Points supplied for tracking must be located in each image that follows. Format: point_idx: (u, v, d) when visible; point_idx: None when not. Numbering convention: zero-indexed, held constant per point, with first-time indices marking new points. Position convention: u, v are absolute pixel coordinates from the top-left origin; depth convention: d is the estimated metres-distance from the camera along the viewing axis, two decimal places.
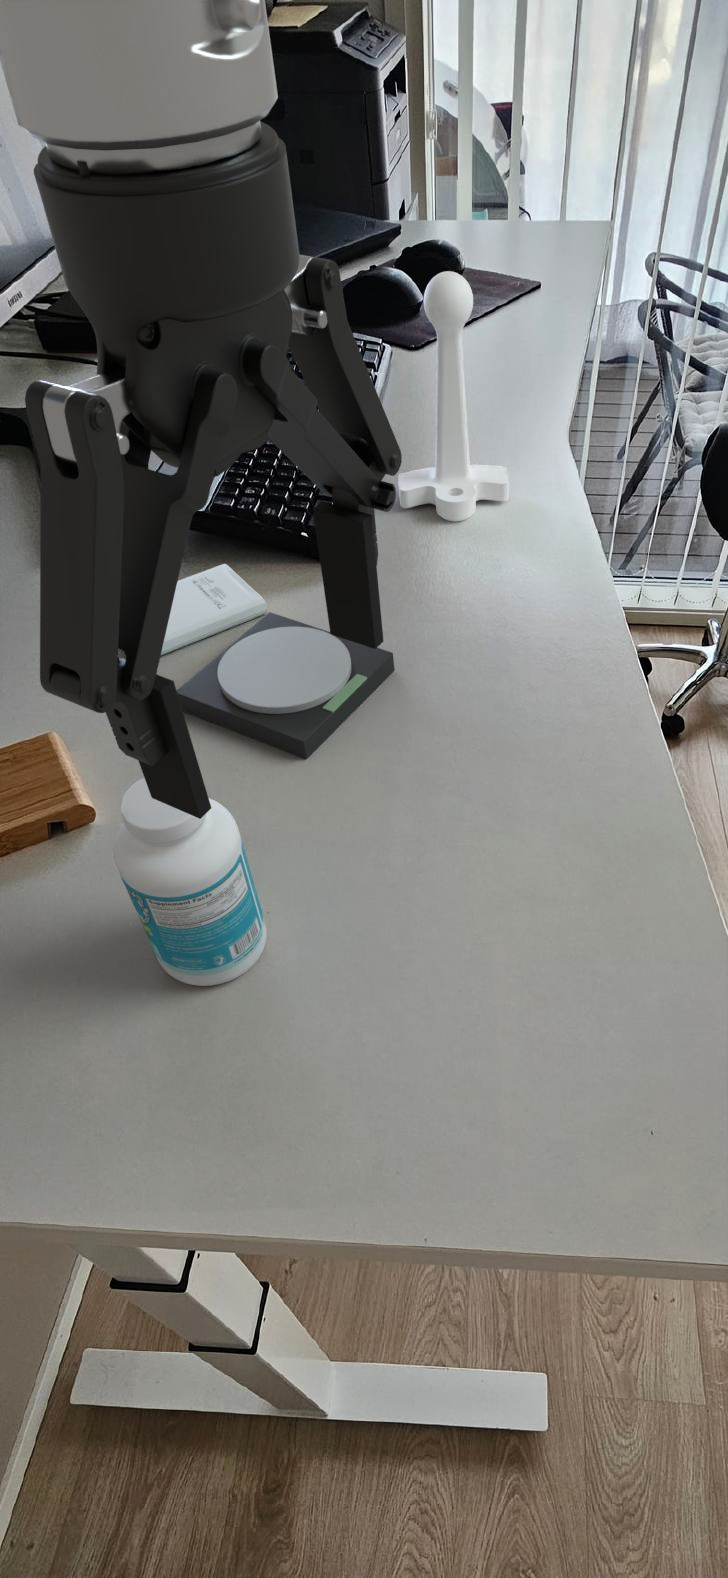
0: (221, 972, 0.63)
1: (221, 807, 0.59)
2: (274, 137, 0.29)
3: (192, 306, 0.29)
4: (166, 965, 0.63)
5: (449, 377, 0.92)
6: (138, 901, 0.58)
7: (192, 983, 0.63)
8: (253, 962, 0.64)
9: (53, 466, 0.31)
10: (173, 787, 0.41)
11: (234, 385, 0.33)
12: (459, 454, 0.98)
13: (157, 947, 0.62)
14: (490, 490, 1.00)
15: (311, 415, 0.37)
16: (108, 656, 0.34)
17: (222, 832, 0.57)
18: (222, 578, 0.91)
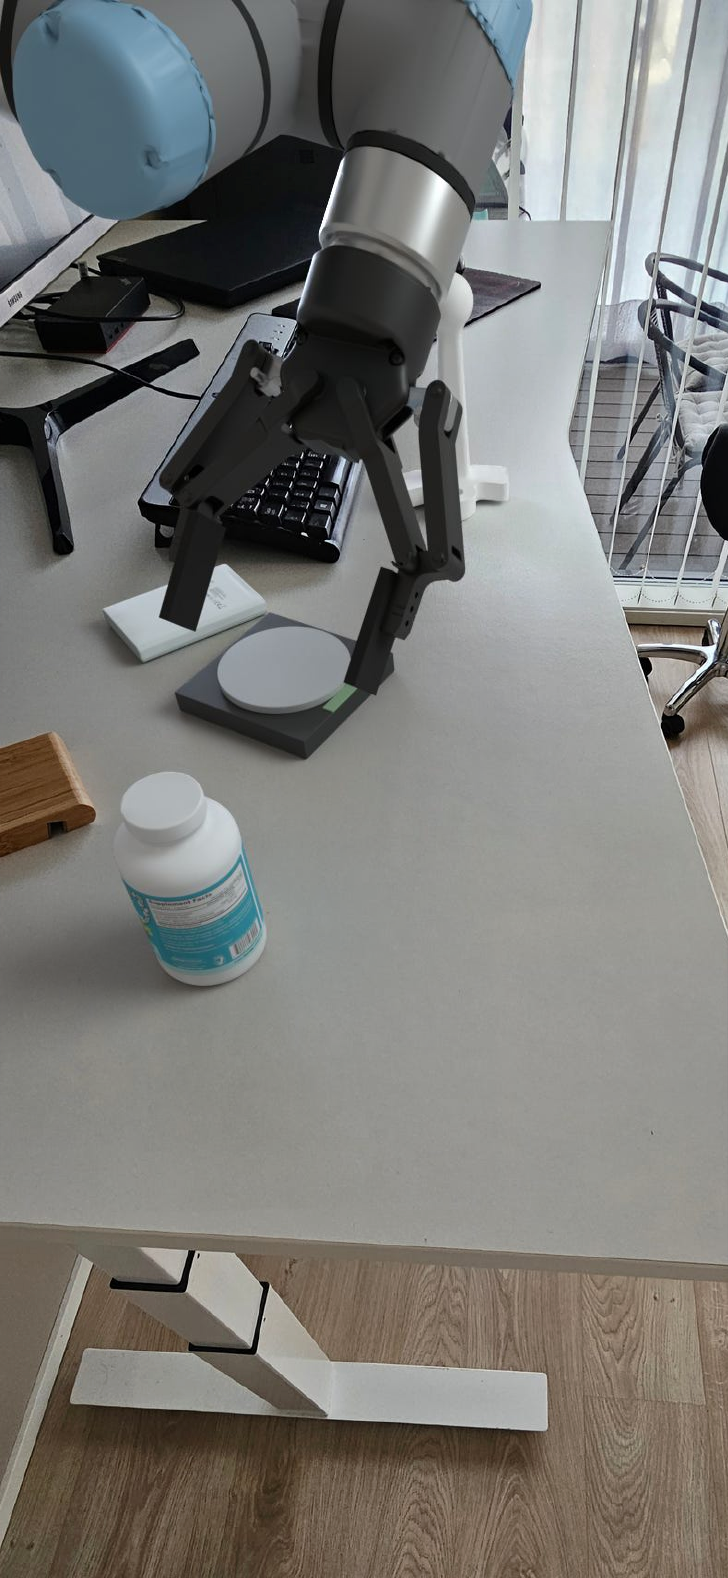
0: (221, 972, 0.63)
1: (221, 807, 0.59)
2: None
3: None
4: (166, 965, 0.63)
5: (449, 377, 0.92)
6: (138, 901, 0.58)
7: (192, 983, 0.63)
8: (253, 962, 0.64)
9: (442, 428, 0.53)
10: (375, 669, 0.56)
11: None
12: (459, 454, 0.98)
13: (157, 947, 0.62)
14: (490, 490, 1.00)
15: None
16: None
17: (222, 833, 0.57)
18: (222, 578, 0.91)
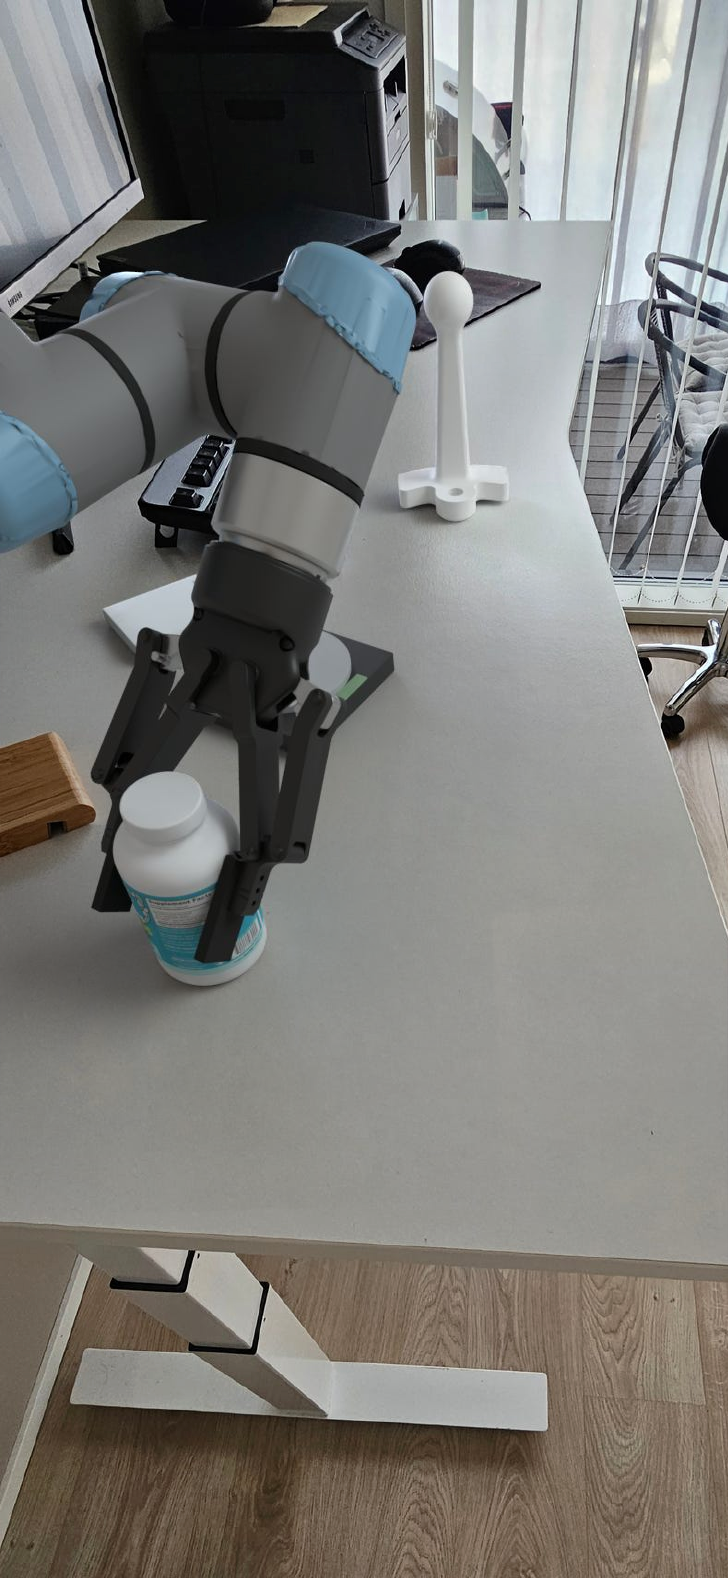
0: (221, 972, 0.63)
1: (221, 807, 0.59)
2: None
3: None
4: (166, 965, 0.63)
5: (449, 377, 0.92)
6: (138, 901, 0.58)
7: (192, 983, 0.63)
8: (253, 962, 0.64)
9: (316, 732, 0.55)
10: (226, 941, 0.59)
11: None
12: (459, 454, 0.98)
13: (157, 947, 0.62)
14: (490, 490, 1.00)
15: None
16: None
17: (221, 832, 0.57)
18: None
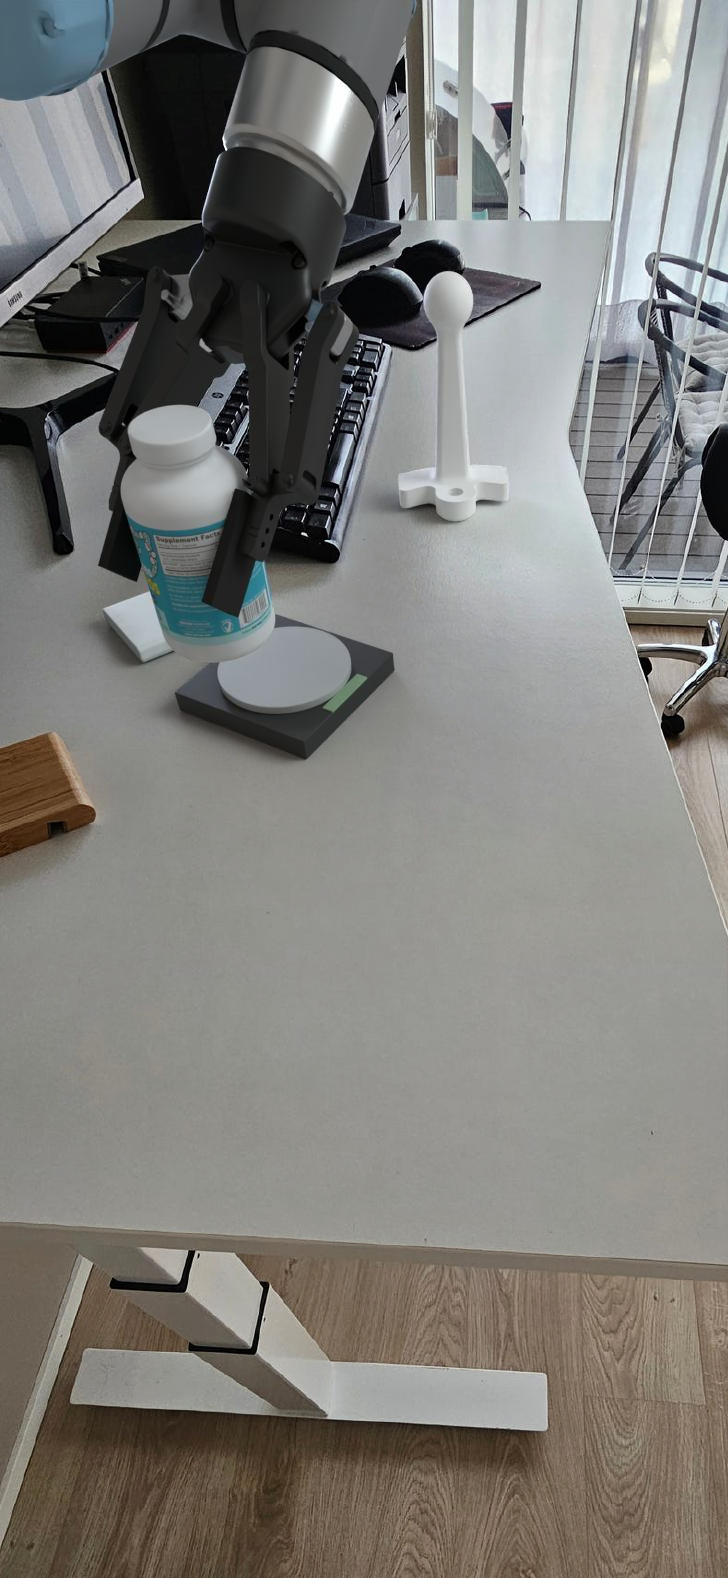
0: (229, 643, 0.62)
1: None
2: None
3: (328, 283, 0.57)
4: (173, 637, 0.62)
5: (449, 377, 0.92)
6: (146, 544, 0.57)
7: (199, 658, 0.63)
8: (261, 641, 0.63)
9: (327, 352, 0.54)
10: (234, 591, 0.58)
11: None
12: (459, 454, 0.98)
13: (164, 611, 0.61)
14: (490, 490, 1.00)
15: None
16: None
17: (230, 468, 0.56)
18: None
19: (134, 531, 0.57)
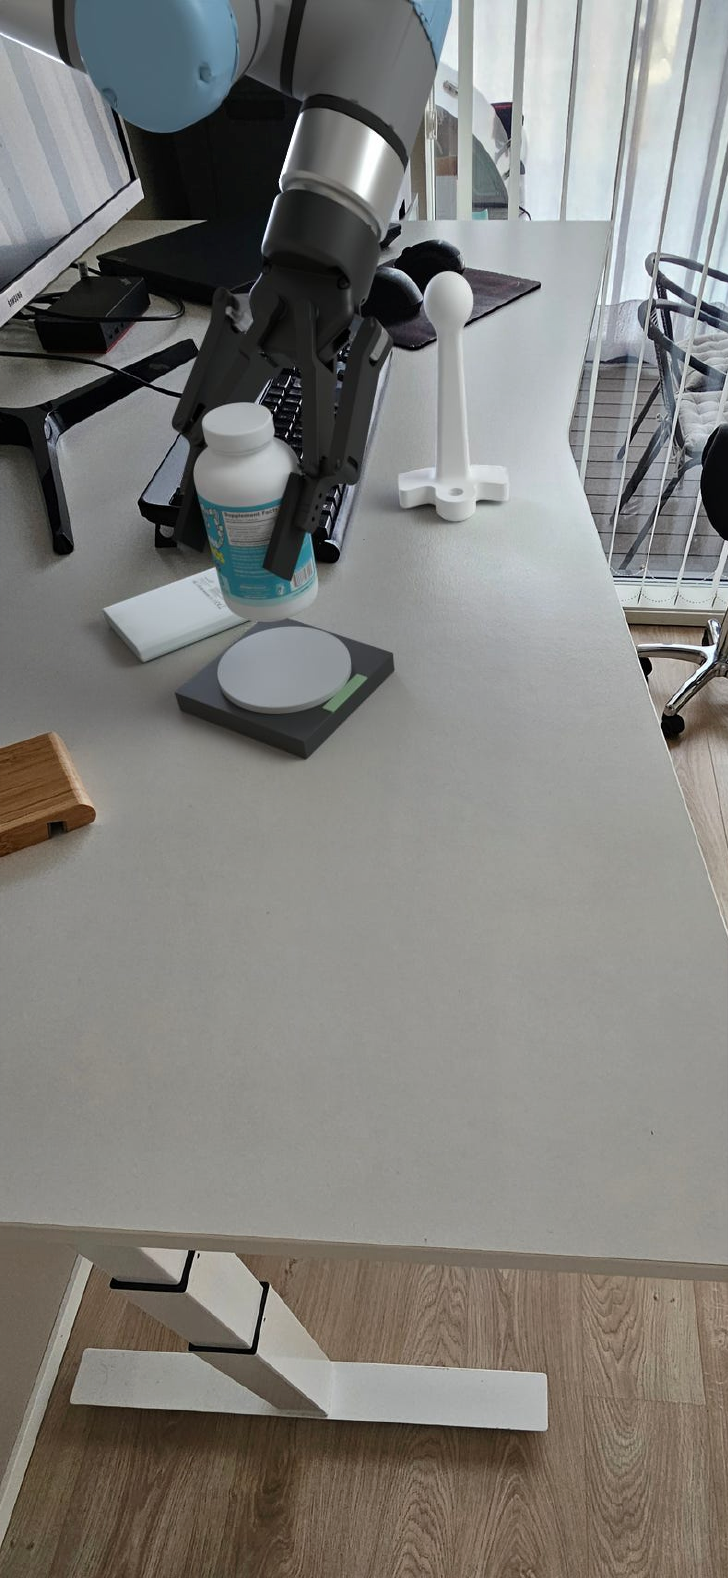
0: (281, 604, 0.73)
1: (284, 442, 0.69)
2: None
3: None
4: (234, 600, 0.73)
5: (449, 377, 0.92)
6: (215, 519, 0.68)
7: (256, 617, 0.74)
8: (308, 603, 0.74)
9: (368, 357, 0.65)
10: (288, 558, 0.69)
11: None
12: (459, 454, 0.98)
13: (227, 577, 0.72)
14: (490, 490, 1.00)
15: None
16: None
17: (286, 455, 0.67)
18: None
19: (205, 508, 0.68)
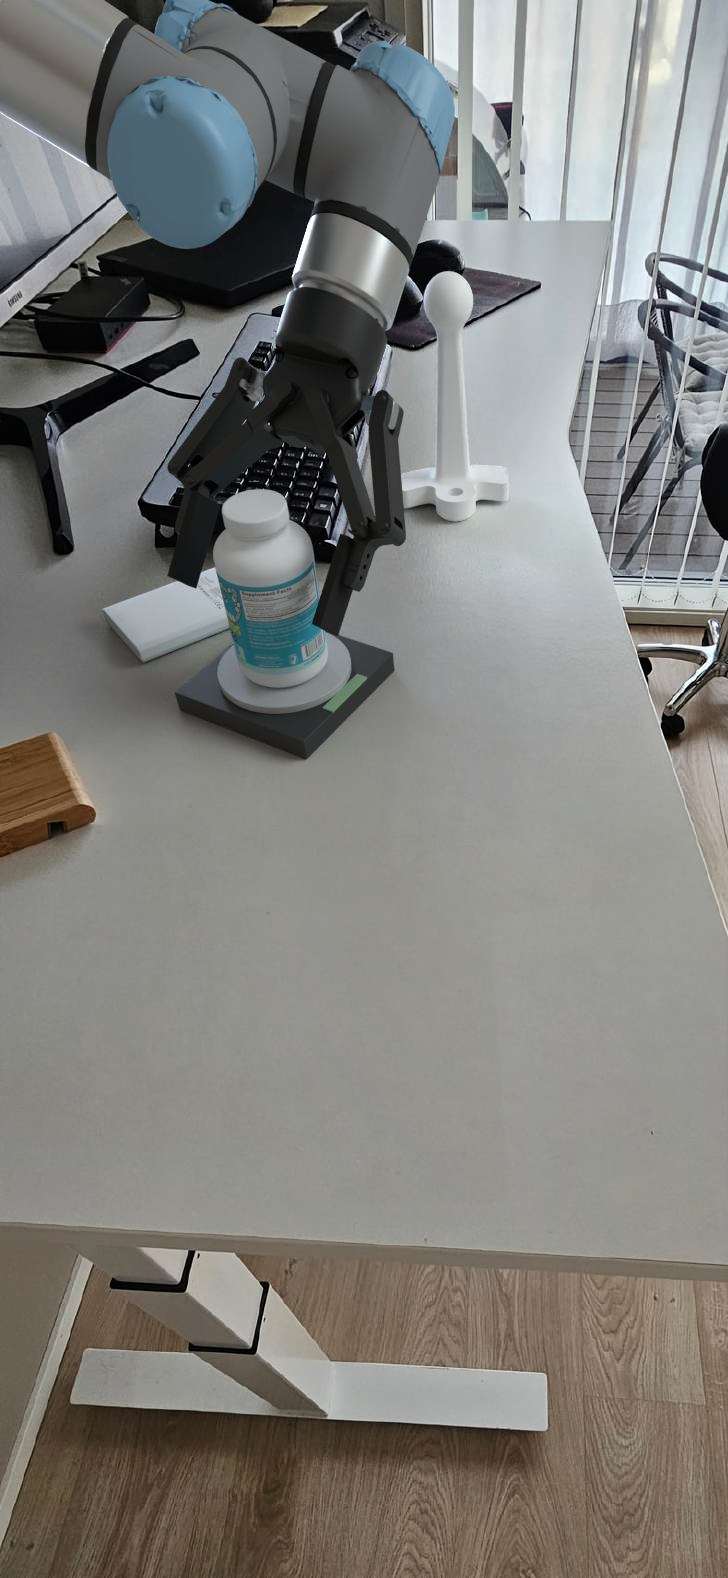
0: (293, 672, 0.78)
1: None
2: None
3: None
4: (249, 667, 0.78)
5: (449, 377, 0.92)
6: (233, 597, 0.73)
7: (269, 684, 0.78)
8: (318, 670, 0.79)
9: (387, 427, 0.69)
10: (336, 614, 0.72)
11: None
12: (459, 454, 0.98)
13: (243, 648, 0.77)
14: (490, 490, 1.00)
15: None
16: None
17: (300, 538, 0.72)
18: None
19: (223, 586, 0.73)
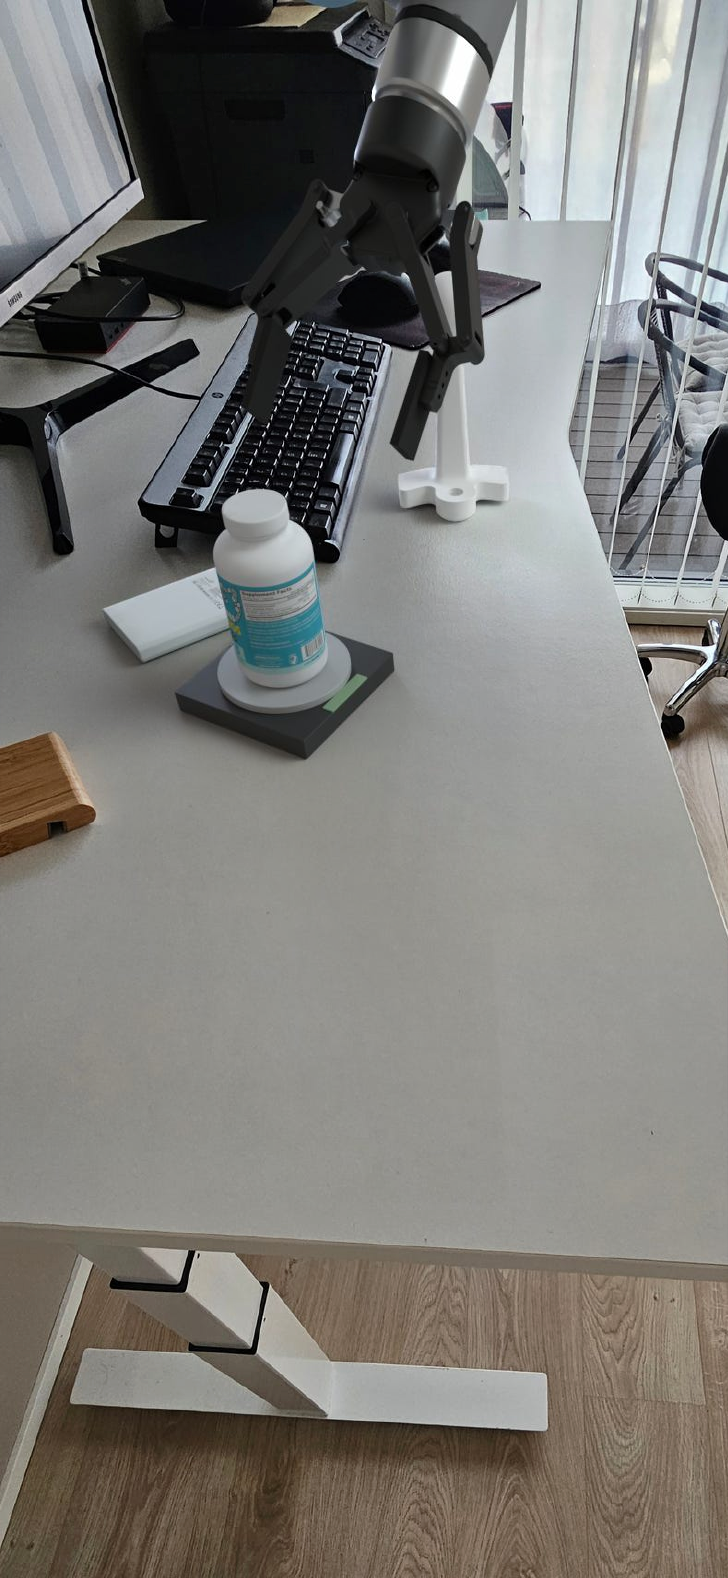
0: (293, 672, 0.78)
1: None
2: None
3: (449, 206, 0.72)
4: (249, 667, 0.78)
5: None
6: (233, 597, 0.73)
7: (269, 684, 0.78)
8: (318, 670, 0.79)
9: (468, 240, 0.69)
10: (413, 436, 0.72)
11: None
12: (459, 454, 0.98)
13: (243, 648, 0.77)
14: (490, 490, 1.00)
15: None
16: None
17: (300, 538, 0.72)
18: None
19: (223, 586, 0.73)
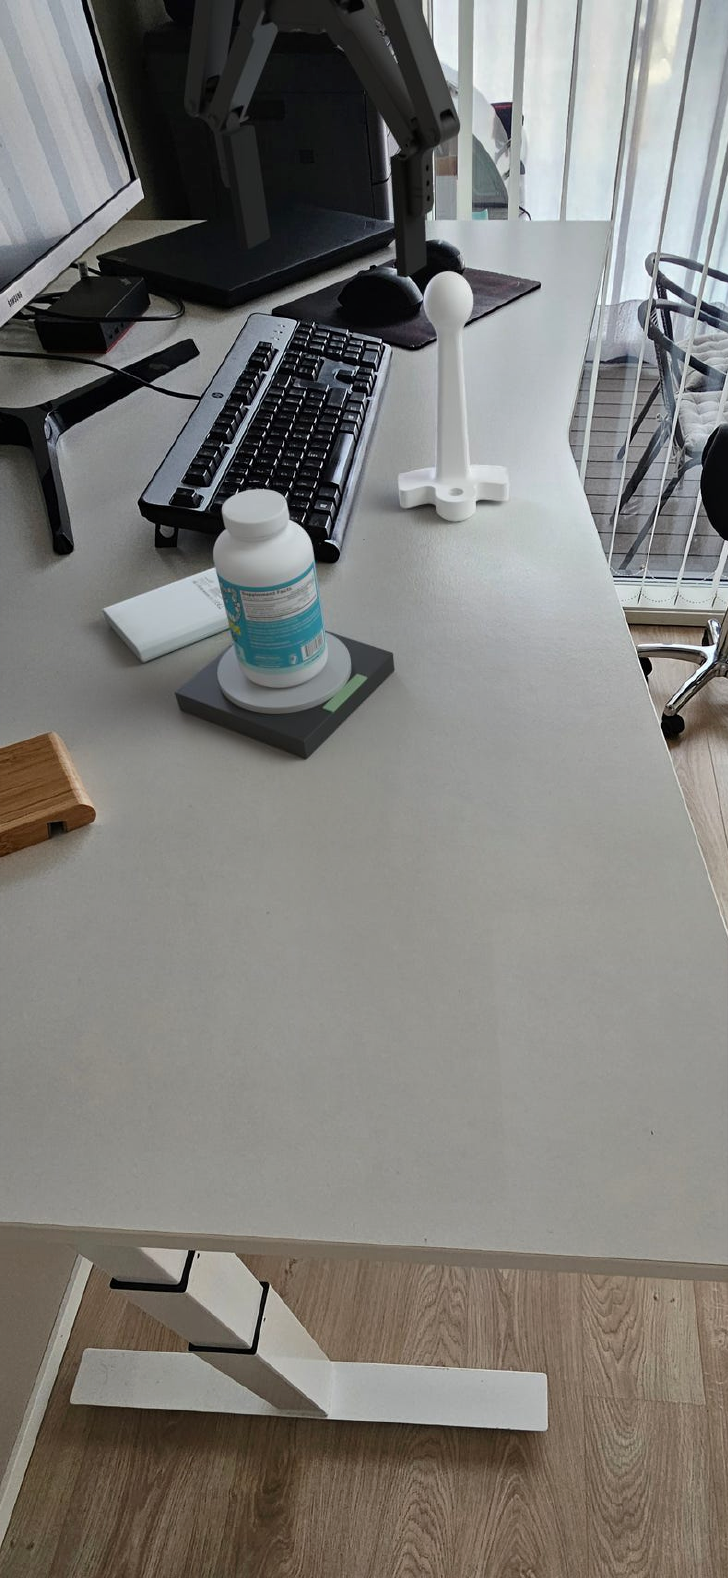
0: (293, 672, 0.78)
1: None
2: None
3: None
4: (249, 667, 0.78)
5: (449, 377, 0.92)
6: (233, 597, 0.73)
7: (269, 684, 0.78)
8: (318, 670, 0.79)
9: None
10: (417, 247, 0.67)
11: None
12: (459, 454, 0.98)
13: (243, 648, 0.77)
14: (490, 490, 1.00)
15: None
16: None
17: (300, 538, 0.72)
18: None
19: (223, 586, 0.73)
